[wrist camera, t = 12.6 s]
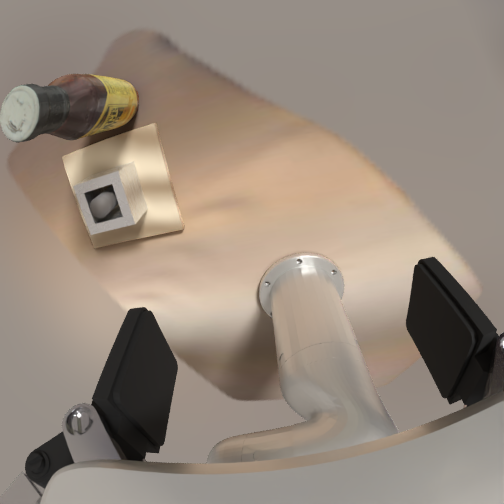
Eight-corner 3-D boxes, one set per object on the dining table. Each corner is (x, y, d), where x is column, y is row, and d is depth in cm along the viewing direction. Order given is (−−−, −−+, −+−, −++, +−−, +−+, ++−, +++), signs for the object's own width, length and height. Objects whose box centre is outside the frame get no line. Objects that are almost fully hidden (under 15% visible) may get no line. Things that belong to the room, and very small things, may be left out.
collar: (147, 208, 36) (135, 224, 32) (106, 218, 37) (90, 235, 33) (133, 161, 33) (118, 170, 29) (91, 174, 34) (73, 186, 30)
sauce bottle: (107, 135, 33) (1, 179, 15) (91, 93, 30) (-22, 108, 12) (151, 113, 32) (59, 135, 14) (135, 69, 29) (33, 54, 11)
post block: (184, 226, 39) (173, 251, 33) (97, 245, 40) (76, 270, 34) (156, 122, 32) (136, 128, 26) (65, 155, 33) (36, 168, 27)
